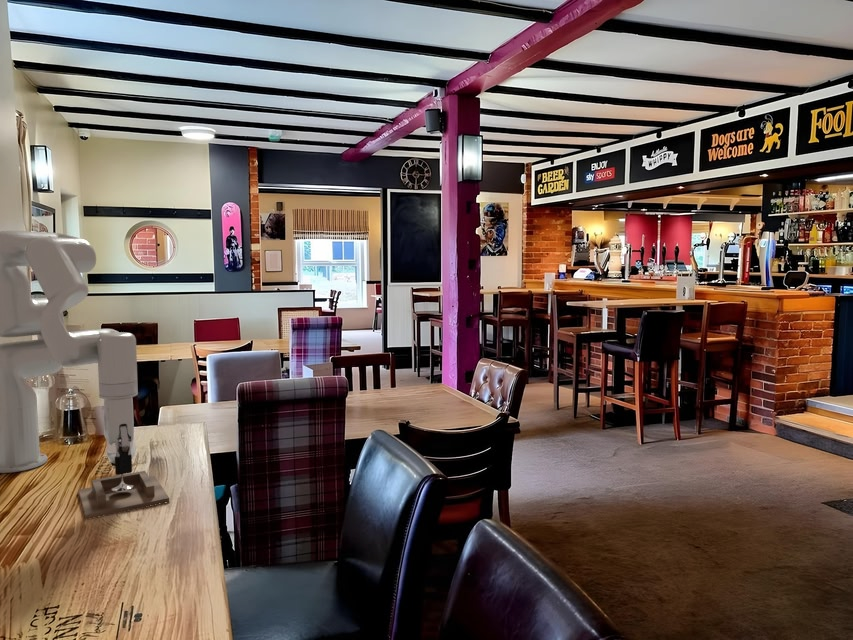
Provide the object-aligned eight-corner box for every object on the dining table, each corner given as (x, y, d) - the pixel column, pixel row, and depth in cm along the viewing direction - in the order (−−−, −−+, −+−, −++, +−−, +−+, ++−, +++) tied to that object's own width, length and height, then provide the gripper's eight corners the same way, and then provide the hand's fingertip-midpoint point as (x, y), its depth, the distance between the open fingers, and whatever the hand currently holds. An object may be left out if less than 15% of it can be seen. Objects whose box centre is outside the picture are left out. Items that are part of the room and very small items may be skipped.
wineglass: (139, 488, 132) (138, 436, 131) (111, 495, 129) (109, 441, 127) (133, 481, 137) (131, 430, 135) (105, 486, 133) (103, 434, 132)
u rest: (78, 493, 135) (77, 478, 134) (155, 479, 144) (154, 465, 144) (85, 519, 122) (85, 503, 121) (169, 502, 131) (168, 486, 130)
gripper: (94, 383, 135) (97, 460, 137) (104, 399, 121) (107, 484, 123) (131, 380, 139) (133, 455, 141) (144, 394, 125) (147, 477, 127)
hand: (121, 468), depth 132 cm, fingers closed on wineglass, 5 cm apart
